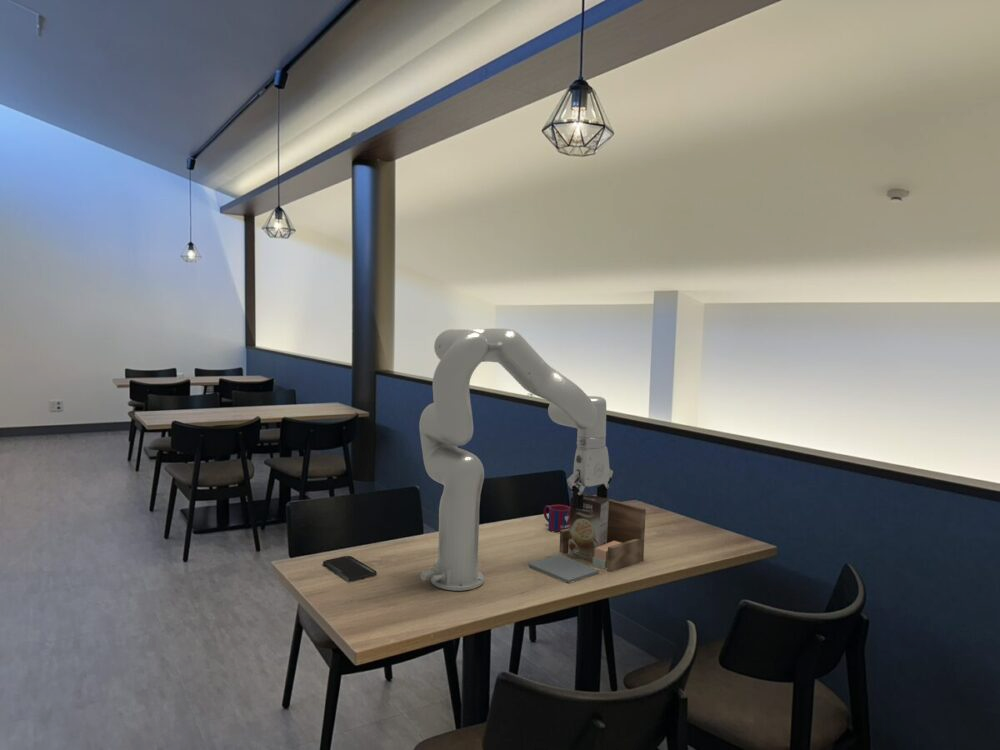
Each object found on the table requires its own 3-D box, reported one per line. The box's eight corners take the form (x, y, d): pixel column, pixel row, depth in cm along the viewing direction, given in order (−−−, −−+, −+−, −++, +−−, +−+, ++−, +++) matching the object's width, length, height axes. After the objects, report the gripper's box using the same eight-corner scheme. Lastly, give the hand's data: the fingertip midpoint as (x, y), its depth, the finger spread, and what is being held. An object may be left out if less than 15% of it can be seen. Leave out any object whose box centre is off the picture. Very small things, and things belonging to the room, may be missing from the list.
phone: (349, 555, 172) (378, 572, 160) (349, 559, 172) (378, 576, 160) (320, 561, 166) (348, 579, 155) (320, 565, 166) (348, 584, 155)
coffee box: (566, 555, 178) (568, 497, 177) (576, 549, 184) (578, 492, 182) (598, 562, 173) (600, 502, 172) (607, 556, 179) (610, 497, 178)
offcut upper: (605, 560, 169) (606, 551, 169) (594, 557, 172) (594, 548, 171) (625, 553, 176) (625, 543, 175) (613, 549, 178) (614, 540, 178)
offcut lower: (604, 570, 169) (605, 561, 169) (592, 566, 172) (592, 557, 172) (628, 562, 176) (628, 553, 176) (615, 558, 179) (616, 549, 178)
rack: (610, 571, 167) (612, 517, 166) (559, 552, 181) (561, 501, 180) (643, 560, 176) (645, 508, 175) (592, 542, 190) (594, 494, 189)
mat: (568, 583, 158) (568, 580, 158) (528, 566, 169) (528, 563, 169) (598, 573, 166) (598, 570, 166) (558, 557, 176) (558, 554, 176)
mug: (557, 534, 197) (558, 511, 196) (537, 525, 205) (538, 503, 204) (574, 530, 200) (575, 508, 200) (554, 522, 209) (555, 501, 208)
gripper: (579, 448, 168) (578, 514, 169) (623, 441, 179) (621, 502, 181) (558, 444, 174) (557, 508, 175) (601, 437, 185) (600, 497, 186)
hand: (590, 505), depth 178 cm, fingers open, 9 cm apart
